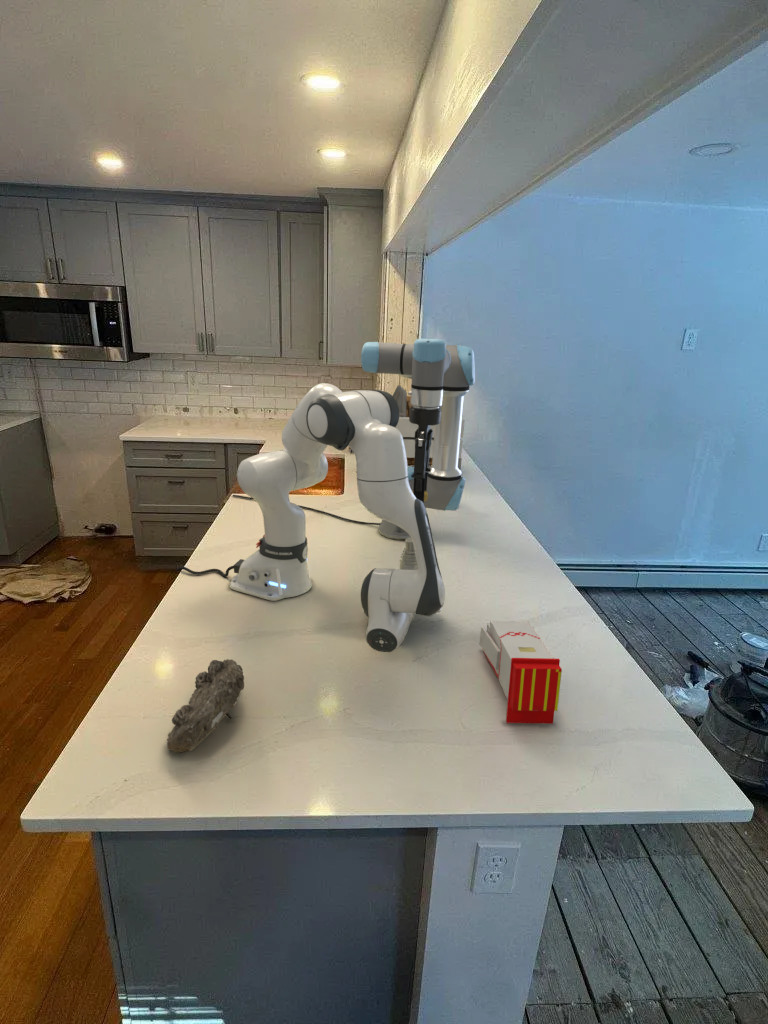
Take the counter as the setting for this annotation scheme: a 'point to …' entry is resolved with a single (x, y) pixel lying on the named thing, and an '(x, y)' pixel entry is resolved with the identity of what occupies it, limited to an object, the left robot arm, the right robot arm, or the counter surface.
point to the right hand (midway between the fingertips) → (419, 499)
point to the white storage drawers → (414, 428)
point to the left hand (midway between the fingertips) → (408, 582)
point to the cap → (425, 496)
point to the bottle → (408, 557)
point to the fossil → (206, 705)
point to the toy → (523, 670)
